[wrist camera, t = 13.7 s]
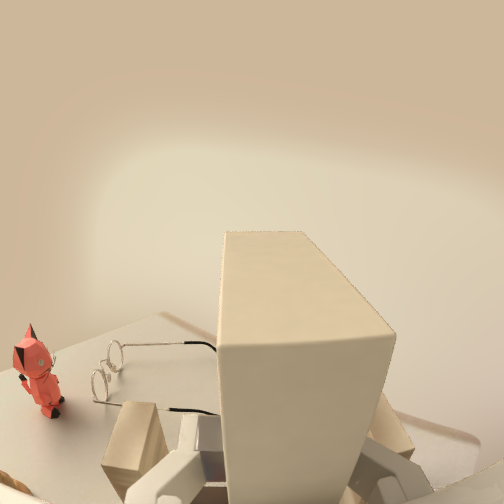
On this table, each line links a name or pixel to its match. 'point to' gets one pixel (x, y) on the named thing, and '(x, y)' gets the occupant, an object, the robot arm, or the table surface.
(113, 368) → the eyeglasses
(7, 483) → the statue
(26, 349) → the cat figurine
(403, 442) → the wooden bookend stand
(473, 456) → the table surface
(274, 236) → the cream rectangular block
